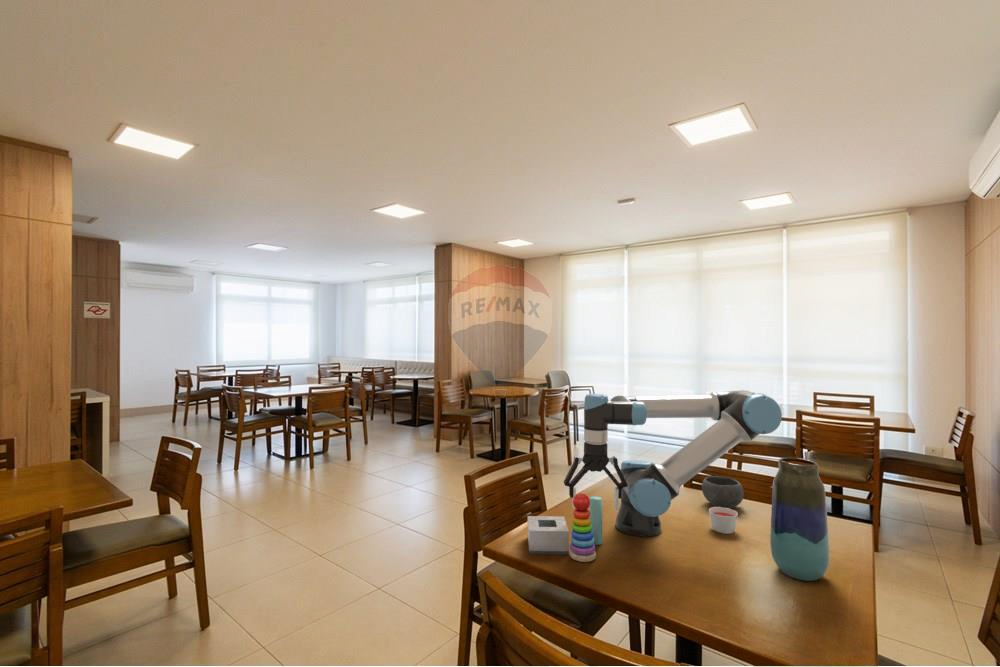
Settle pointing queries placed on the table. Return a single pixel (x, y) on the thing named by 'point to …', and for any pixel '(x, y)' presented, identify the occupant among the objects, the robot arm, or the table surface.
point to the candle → (723, 519)
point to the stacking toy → (582, 531)
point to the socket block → (548, 535)
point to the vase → (799, 520)
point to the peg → (596, 519)
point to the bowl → (722, 491)
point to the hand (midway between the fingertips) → (595, 508)
